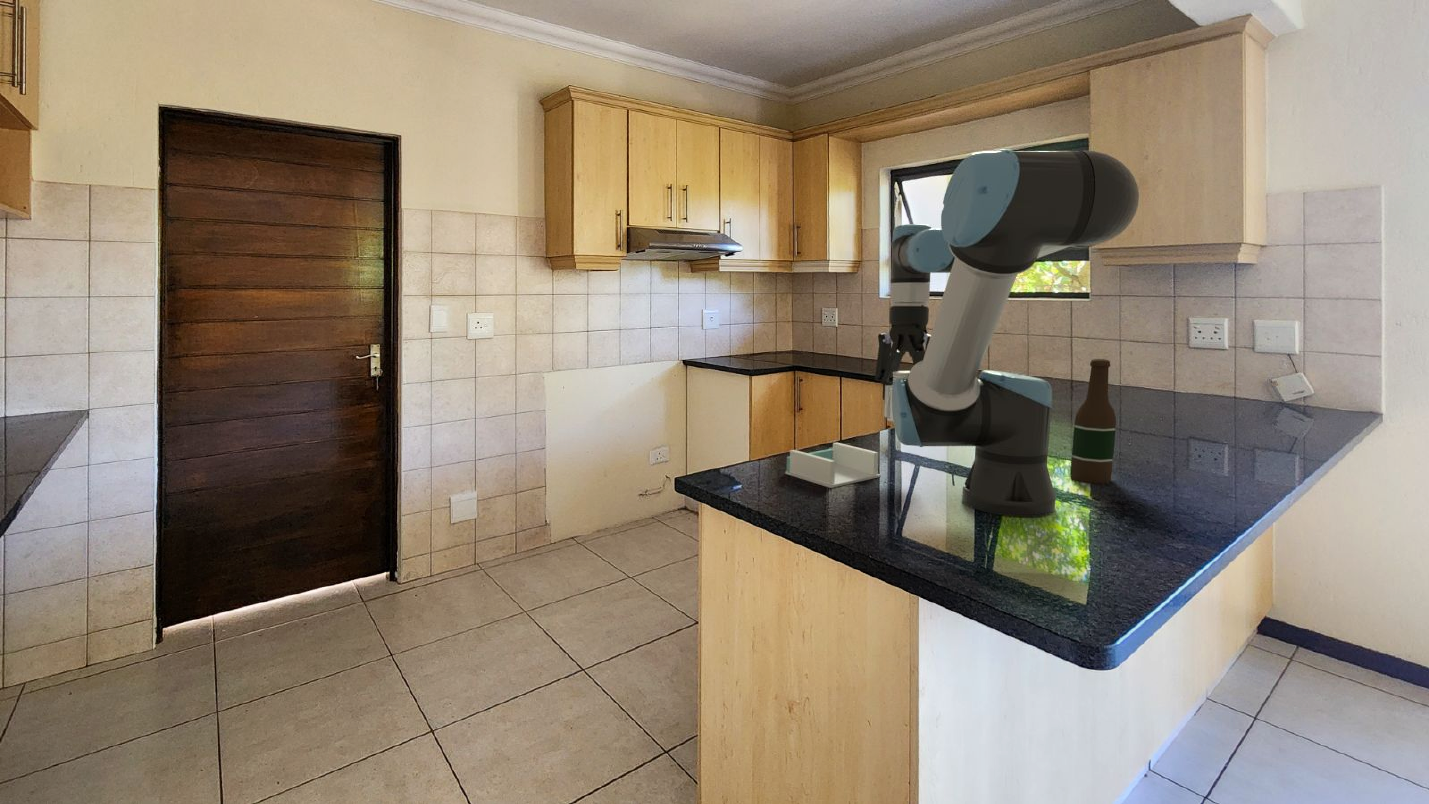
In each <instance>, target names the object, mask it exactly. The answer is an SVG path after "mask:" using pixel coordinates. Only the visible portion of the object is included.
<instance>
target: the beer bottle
mask: <svg viewBox="0 0 1429 804" xmlns="http://www.w3.org/2000/svg"><path fill="white" fill-rule="evenodd" d="M1089 366H1090V374H1089V379H1088V380H1089V382H1088V386H1087V387H1088V388H1087V393H1086V397H1085V399H1084V401H1083V402H1081V404H1080V405H1079V407H1078V409H1077V411H1076V412H1075V413H1076V414H1075V417H1074V422H1073V423H1074V425H1073V433H1072V434H1073V436H1072V446H1071V458H1070V459H1071V460H1070V476H1069V477H1070V479H1071V480H1074V481H1078V482H1080V483H1083V484H1084V483H1085V484H1096V485H1102V484H1110V482H1111V479H1112V473H1113V464H1114V463H1113V462H1114V452H1115V440H1116V430H1117V429H1116V428H1117V417H1116V413H1115V409H1114V408H1113V406H1112V404H1111V402H1110V401H1109V368H1110V367H1111V362H1110V360H1109V359H1104V358H1103V359H1101V358H1093V359H1091V361H1090V362H1089Z"/></svg>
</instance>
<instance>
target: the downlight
mask: <svg viewBox="0 0 1429 804" xmlns="http://www.w3.org/2000/svg"><path fill="white" fill-rule="evenodd" d="M910 371H911V370H898V371H895V372H893V374H894V375H893V382H894V381H895V380H896V379H901V378H905V379H908V376H909V373H910ZM889 396H890V417H886V420H887V421H888V422H893V423H894V420H893V412H892V388H890V393H889ZM889 396H888V399H889ZM888 399H887V402H888ZM887 402H886V405H885V404H884V407H885V409H886V406H887ZM885 416H886V413H885Z"/></svg>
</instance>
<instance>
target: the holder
mask: <svg viewBox="0 0 1429 804" xmlns="http://www.w3.org/2000/svg"><path fill="white" fill-rule="evenodd" d="M878 471H879V451H878V452H877V451H874V450H871V449H865V448H862V447H856V446H854V445H853V446H852V445H850V444H845V443H841V442H833V443H832V448H828V449H822V450H817V451H812V452H804V451H801V450H796V449H792V450H791V449H790V450H789V456H786V470H785V472H784V473H785V475H789V476H791V477H794V478H799V479H801V480H805V481H808V482H810V483H814V484H817V485H821V486H823V487H826V488H829V489H832V488H837V487H842V486H846V485H850V484H854V483H859V482H860V483H861V482H863V481H868V480H872V479H876V478H880V477H881V474H879V473H878Z"/></svg>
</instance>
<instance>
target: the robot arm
mask: <svg viewBox="0 0 1429 804" xmlns="http://www.w3.org/2000/svg"><path fill="white" fill-rule="evenodd" d="M1139 193H1140V192H1139V186H1138V184H1137V181H1136V178H1135V176H1134V175H1133V173H1132V172H1131V170H1130V169H1129V168H1128V167H1127V166H1126V165H1125V164H1124V163H1123V162H1122V161H1120V160H1119V159H1117V158H1116V157H1113V156H1111V155H1109V154H1106V153H1104V152H1103V153H1102V152H1098V151H1094V150H1076V151H1075V150H1035V151H1034V150H1033V151H1031V150H1027V151H1024V150H1021V151H1019V150H1018V151H1014V150H1011V149H1006V148H1001V149H997V150H995V151H994V150H993V151H980V152H973V153H972V154H970V155H969V156H967V157H964V158H963V160H962V161H961V162H960V163H959V164H958V165H957V167H956V168H955V170H954V172H953V173H952V175H951V177H950V179H949V181H948V184H947V187H946V190H945V193H944V195H943V201H942V204H943V208H942V210H941V214H940V227H941V229H940V228H932V227H931V226H930V225H929V224H922V223H921V224H920V223H913V224H912V223H911V224H908V223H906V224H901V225H896V226H895V227H894V228H893V233H892V241H891V243H890V244H891V245H890V246H891V271H890V274H891V275H890V278H891V279H890V282H891V283H890V291H889V292H890V293H889V294H890V295H889V302H890V304H892V305H891V306H890V307H889V324H890V330H889V332H887V333H878V335H877V340H878V352H877V359H876V368H875V374H874V379H875V381H876V382H880V383H881V384H882V400H883V401H884V406H883V407H884V408H883V409H884V411H883V413H884V414H883V417H884V418H889V417H890V396H889V393H890V388H892V412H893V420H894V422H893V427H894V430H895V434H896V438H897V439H898V441H899V442H900V443H901V444H903V445H904V446H912V447H913V446H914V447H916V446H917V447H919V448H923V447H975V450H974V451H975V453H974V454H975V455H974V456H975V457H974V460H973V463H972V465H971V467H970V470H969V472H968V475H967V476H966V479H965V481H964V484H963V485H962V486H963V487H962V492H961V493H962V494H961V501H962V502H963V504H964V505H966V506H968V507H969V508H972V509H974V510H978V511H979V512H980V511H981V512H984V513H989V514H993V515H999V516H1006V517H1015V518H1016V517H1017V518H1036V517H1043V516H1047V515H1050V514H1052V513H1054V512H1055V510H1056V493H1055V490H1054V486H1053V483H1052V479H1051V475H1050V472H1049V468H1048V456H1049V455H1048V453H1049V445H1050V431H1051V420H1052V410H1053V408H1054V407H1053V388H1052V386H1051V384H1050V383H1049V382H1048V381H1047V380H1044V379H1042V378H1038V377H1034V376H1029V375H1023V374H1018V373H1012V372H1004V371H999V370H988V369H987V370H986V369H985V370H981V371H980V372H979V370H980V368H981V366H982V363H983V360H984V358H985V355H986V353H987V350H988V349H989V346H990V343H991V341H992V338H993V336H994V334H995V331H996V328H997V325H998V323H999V321H1000V318H1001V316H1002V314H1003V311H1004V309H1005V306H1006V304H1007V301H1008V299H1009V296H1010V295H1011V291H1012V289H1013V286H1014V284H1015V281H1016V279H1017V276H1018V275H1019V274H1022V273H1025V272H1026V271H1028V270H1029V269H1031V268H1032V267H1033V266H1034V264H1035V263H1036V261H1037V259H1040V258H1042V257H1045V256H1048V255H1050V254H1053V253H1056V252H1059V251H1062V250H1065V249H1067V248H1070V247H1072V248H1077V249H1084V248H1085V249H1086V248H1090V247H1094V246H1097V245H1100V244H1103V243H1105V242H1108V241H1111V240H1112V239H1114V238H1117V237H1118V236H1119V235H1120V234H1121V233H1123V232H1124V231H1126V229H1127V228H1128V227H1129V225H1130V224H1131V223H1132V221H1133V219H1134V218H1135V216H1136V213H1137V210H1138V207H1139V201H1140V200H1139V198H1140V194H1139ZM931 273H933V274H936V273H938V274H939V273H940V274H941V273H942V274H946V273H947V274H949V276H948V280H947V282H946V286H945V289H944V292H943V295H942V298H941V302H940V305H939V308H938V311H937V314H936V316H935V317H936V318H935V320H934V324H933V328H932V330H931V333H930V334H929V332H928V330H927V329H928V328H927V326H928V324H929V319H930V318H929V317H930V316H929V315H930V308H929V306H927V304H928V303H930V293H931V291H930V289H931V287H930V286H931ZM924 345H925V346H924ZM906 353H908V355H909V356H910V357H911V360H912V364H913V366H912V367H911V368H910V370H909V371H910V373H909V376H908V379H905V378H901V379H896V380H895V381H894V382H893V375H894V374H893V372H895V371H899V369H900V365H901V362H902V360H903V357H904V355H905V354H906ZM979 373H980V374H979ZM977 375H978V377H977ZM888 396H889V399H888ZM887 399H888V402H887ZM886 402H887V406H886V409H885V405H886ZM885 413H886V416H885Z"/></svg>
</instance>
